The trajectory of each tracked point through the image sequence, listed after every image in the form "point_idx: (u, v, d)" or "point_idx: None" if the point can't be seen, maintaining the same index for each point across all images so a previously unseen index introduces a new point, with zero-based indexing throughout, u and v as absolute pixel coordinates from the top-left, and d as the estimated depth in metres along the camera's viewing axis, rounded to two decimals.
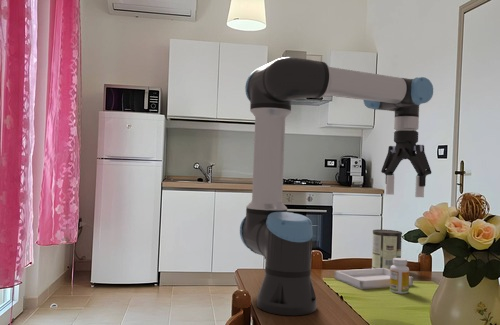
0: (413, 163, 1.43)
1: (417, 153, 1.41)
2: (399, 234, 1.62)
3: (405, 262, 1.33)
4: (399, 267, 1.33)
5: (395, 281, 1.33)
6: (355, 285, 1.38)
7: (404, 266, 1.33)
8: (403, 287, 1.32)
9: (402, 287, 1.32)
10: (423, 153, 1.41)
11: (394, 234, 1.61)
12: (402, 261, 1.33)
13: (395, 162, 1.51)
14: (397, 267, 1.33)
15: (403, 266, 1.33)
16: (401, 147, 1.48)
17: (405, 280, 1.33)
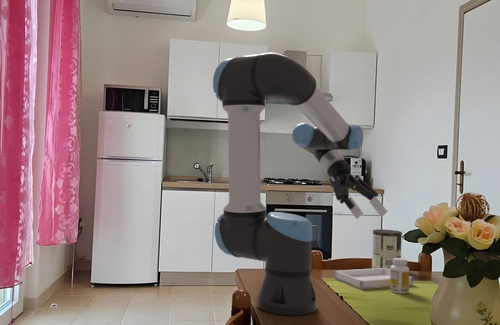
0: (364, 187, 1.51)
1: (362, 180, 1.54)
2: (399, 234, 1.62)
3: (405, 262, 1.33)
4: (399, 267, 1.33)
5: (395, 281, 1.33)
6: (355, 285, 1.38)
7: (404, 266, 1.33)
8: (403, 287, 1.32)
9: (402, 287, 1.32)
10: None
11: (394, 234, 1.61)
12: (402, 261, 1.33)
13: None
14: (397, 267, 1.33)
15: (403, 266, 1.33)
16: (345, 176, 1.50)
17: (405, 280, 1.33)
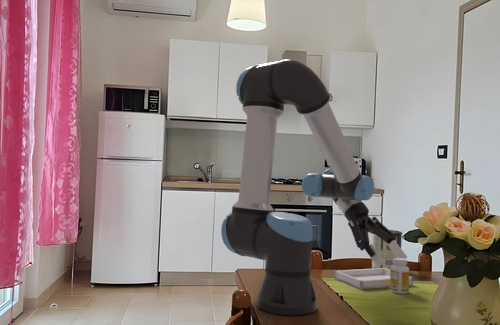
0: (383, 231, 1.47)
1: (379, 223, 1.49)
2: (399, 234, 1.62)
3: (405, 262, 1.33)
4: (399, 267, 1.33)
5: (395, 281, 1.33)
6: (355, 285, 1.38)
7: (404, 266, 1.33)
8: (403, 287, 1.32)
9: (402, 287, 1.32)
10: None
11: (394, 234, 1.61)
12: (402, 261, 1.33)
13: None
14: (397, 267, 1.33)
15: (403, 266, 1.33)
16: (363, 219, 1.45)
17: (405, 280, 1.33)
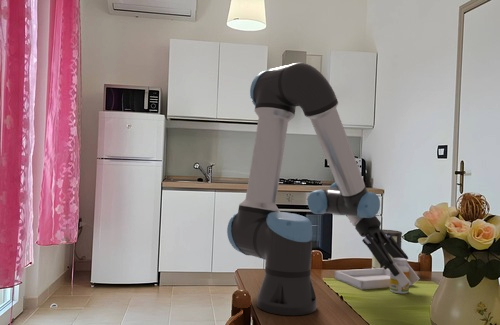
0: (394, 248, 1.40)
1: (392, 239, 1.43)
2: (399, 234, 1.62)
3: (405, 262, 1.34)
4: (399, 267, 1.33)
5: (395, 281, 1.33)
6: (355, 285, 1.38)
7: (404, 266, 1.34)
8: (403, 287, 1.32)
9: (402, 287, 1.32)
10: None
11: (394, 234, 1.61)
12: (402, 261, 1.33)
13: None
14: None
15: (403, 266, 1.33)
16: (373, 229, 1.41)
17: None
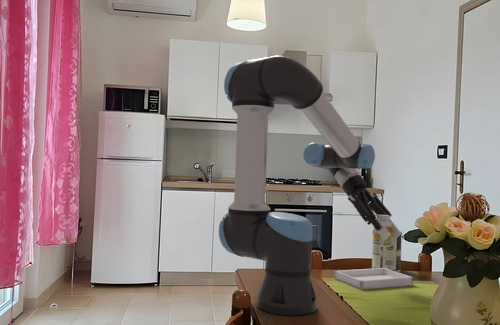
0: (378, 206, 1.48)
1: (377, 198, 1.51)
2: None
3: (388, 218, 1.42)
4: (382, 222, 1.41)
5: (378, 235, 1.41)
6: (355, 285, 1.38)
7: (387, 221, 1.42)
8: (385, 241, 1.41)
9: (384, 241, 1.41)
10: None
11: None
12: (385, 216, 1.41)
13: None
14: None
15: (386, 221, 1.42)
16: (358, 189, 1.49)
17: None
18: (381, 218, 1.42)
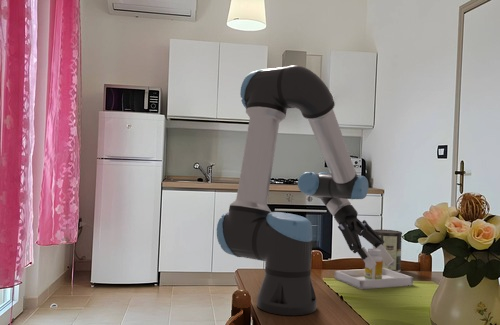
0: (371, 234, 1.52)
1: (368, 226, 1.55)
2: (399, 234, 1.62)
3: (379, 252, 1.45)
4: (373, 257, 1.44)
5: (369, 270, 1.44)
6: (355, 285, 1.38)
7: (378, 256, 1.45)
8: (376, 276, 1.43)
9: (375, 275, 1.43)
10: None
11: (394, 234, 1.61)
12: (376, 251, 1.44)
13: None
14: None
15: (377, 256, 1.44)
16: (351, 220, 1.52)
17: (378, 269, 1.44)
18: (372, 253, 1.45)
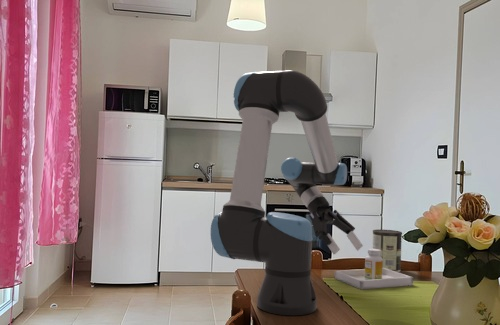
0: (342, 222, 1.61)
1: (339, 215, 1.64)
2: (399, 234, 1.62)
3: (378, 252, 1.45)
4: (373, 257, 1.44)
5: (369, 270, 1.44)
6: (355, 285, 1.38)
7: (377, 256, 1.45)
8: (376, 276, 1.43)
9: (375, 275, 1.43)
10: None
11: (394, 234, 1.61)
12: (376, 251, 1.44)
13: None
14: (371, 257, 1.44)
15: (377, 256, 1.44)
16: (324, 212, 1.60)
17: (378, 269, 1.44)
18: (372, 253, 1.45)
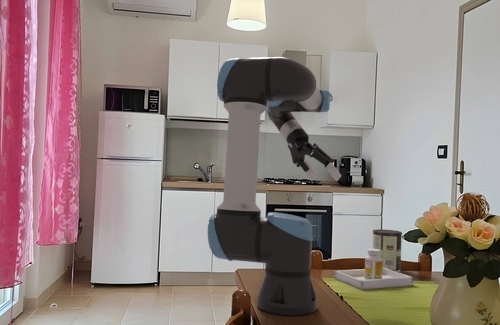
0: (321, 154, 1.61)
1: (319, 148, 1.64)
2: (399, 234, 1.62)
3: (378, 252, 1.45)
4: (372, 257, 1.44)
5: (369, 270, 1.44)
6: (355, 285, 1.38)
7: (377, 256, 1.45)
8: (376, 276, 1.43)
9: (375, 275, 1.43)
10: None
11: (394, 234, 1.61)
12: (375, 251, 1.44)
13: None
14: (371, 257, 1.44)
15: (376, 256, 1.44)
16: (303, 143, 1.60)
17: (378, 269, 1.44)
18: (372, 253, 1.45)
